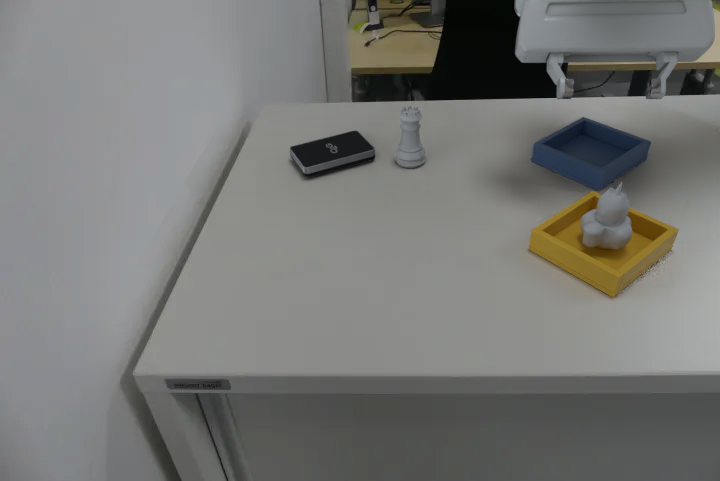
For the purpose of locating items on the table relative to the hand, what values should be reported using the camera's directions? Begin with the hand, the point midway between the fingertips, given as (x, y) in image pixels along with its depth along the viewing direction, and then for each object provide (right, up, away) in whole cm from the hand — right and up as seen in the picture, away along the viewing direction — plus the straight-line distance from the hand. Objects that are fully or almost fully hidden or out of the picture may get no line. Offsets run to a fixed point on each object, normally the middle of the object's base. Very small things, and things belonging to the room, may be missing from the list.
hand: (609, 97), depth 61 cm
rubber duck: (0, -16, +2) cm, 16 cm away
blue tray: (+5, -4, +17) cm, 18 cm away
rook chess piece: (-20, -4, +19) cm, 28 cm away
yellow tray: (0, -17, +2) cm, 17 cm away
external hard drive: (-31, -4, +21) cm, 38 cm away
